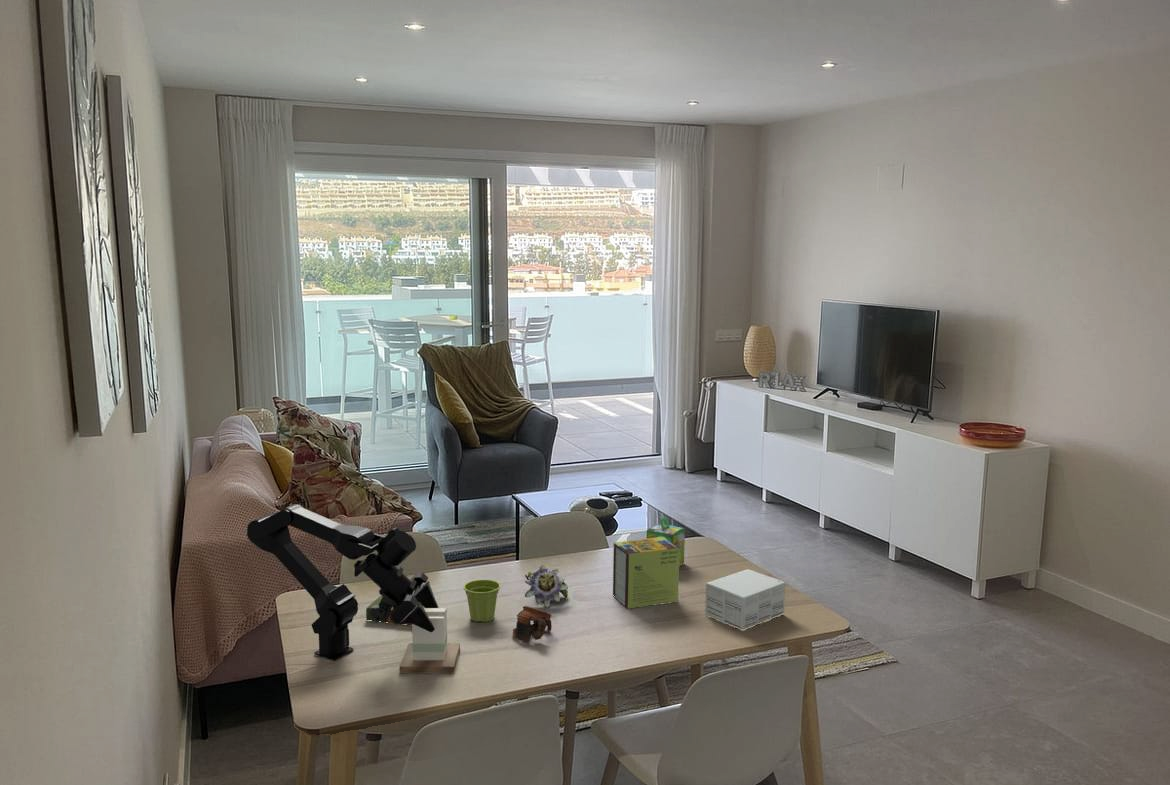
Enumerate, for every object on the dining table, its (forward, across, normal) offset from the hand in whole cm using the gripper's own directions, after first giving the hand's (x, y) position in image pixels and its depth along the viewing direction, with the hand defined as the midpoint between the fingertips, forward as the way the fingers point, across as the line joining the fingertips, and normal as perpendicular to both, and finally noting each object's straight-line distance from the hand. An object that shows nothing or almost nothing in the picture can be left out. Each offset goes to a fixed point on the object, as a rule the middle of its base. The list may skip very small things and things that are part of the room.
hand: (436, 622), depth 197 cm
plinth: (+6, 0, -8) cm, 9 cm away
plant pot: (+12, -25, -1) cm, 28 cm away
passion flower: (+24, -36, +10) cm, 45 cm away
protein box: (+43, -38, +30) cm, 65 cm away
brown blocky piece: (+22, -13, +9) cm, 27 cm away
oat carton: (+4, 0, -6) cm, 8 cm away
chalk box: (+49, -65, +36) cm, 89 cm away
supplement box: (+61, -27, +47) cm, 82 cm away
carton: (-2, -24, -16) cm, 29 cm away
